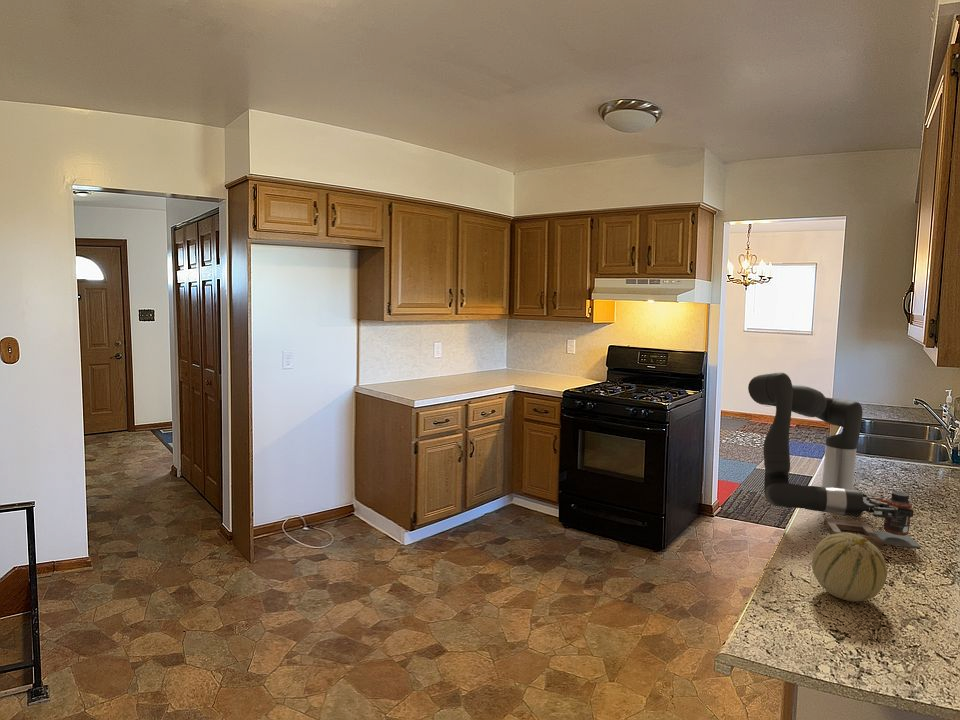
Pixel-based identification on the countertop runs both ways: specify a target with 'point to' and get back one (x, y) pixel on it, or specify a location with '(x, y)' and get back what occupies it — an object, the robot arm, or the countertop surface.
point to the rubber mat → (896, 539)
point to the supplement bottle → (900, 523)
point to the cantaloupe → (849, 567)
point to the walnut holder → (853, 529)
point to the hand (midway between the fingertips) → (908, 509)
